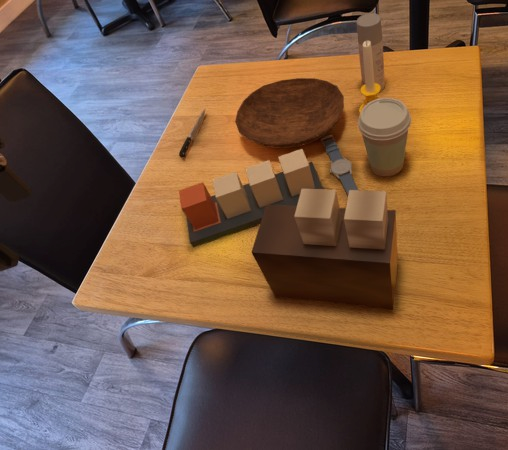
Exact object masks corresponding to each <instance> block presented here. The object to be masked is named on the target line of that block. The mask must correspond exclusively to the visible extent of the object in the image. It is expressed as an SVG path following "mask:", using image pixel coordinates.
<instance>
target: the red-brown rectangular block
mask: <svg viewBox="0 0 508 450" xmlns="http://www.w3.org/2000/svg"><path fill="white" fill-rule="evenodd" d="M178 193H179V202H180V209H181V211H182V212H183V214H184V215H185V217H186V216H187V218H188V219H189V221H190V222H191V224H192V225H193V227H194V228H195V229H198V228H201V227H204V226H207V225H210V224H212V223H215V222H218V221H219V220H218V215H217V210H216V206H215V203H214V201H213V199H212V197H211V196H212V195H211V193H210V192H209V190H208V188H207V187H206V184H205V183H204V181H203V182H199V183H196V184H194V185H191V186H188V187H185V188H182V189H180V190H178ZM187 218H186V219H187Z"/></svg>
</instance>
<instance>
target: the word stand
mask: <svg viewBox="0 0 508 450" xmlns="http://www.w3.org/2000/svg"><path fill="white" fill-rule="evenodd" d="M346 200H347V201H346V206H345V207H341V206H340V202H339V198H338V193H337V190H336V189H330V188H329V189H325V188H323V189H301V193H300V197H299V201H298V204H297V206H282V205H266V207H265V211H264V214H263V217H262V220H261V223H260V224H259V227H258V230H257V232H256V236H255V240H254V243H253V246H252V250H251V251H250V252H251V254H252V256H253V259H254V260H255V262H256V264H257V266H258V267H259V269H260V272H261V273H262V275H263V277H264V279H265V280H266V282H267V284H268V286H269V288H270V291H271V292H272V294H273V296H274V297H275V298H281V299H291V300H301V301H307V302H308V301H310V302H320V303H328V304H329V303H330V304H339V305H348V306H357V307H366V308H367V307H368V308H375V309H377V308H378V309H386V310H394V307H395V306H394V305H395V297H396V296H395V295H396V285H397V273H398V263H399V255H398V234H397V232H398V231H397V230H398V229H397V210H394V209H388V197H387V191H386V190H361V189H358V190H349V194H348V195H347V199H346Z"/></svg>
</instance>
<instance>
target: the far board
mask: <svg viewBox="0 0 508 450" xmlns="http://www.w3.org/2000/svg"><path fill="white" fill-rule="evenodd" d="M277 158H278V161H279V164H280V166H281V169H282V171H280V172H278V173H275V172H274V168H273V166H272V163H271V161H270V159H267V160H265V161H262V162H259V163H256V164H254V165H250V166H248V167H245V168H244V169H245V174H246V177H247V180H248V183H246V184H243V182H242V181H241V178H240V176H239V174H238V172H237V171H233V172H230V173H228V174H227V173H226V174H224V175H221V176H218V177H216V178H213V179H211V181H212V186H213V190H214V195H211V197H212V199H213V201H214V203H215V206H216V210H217V215H218V220H219V221H218V222H215V223H212V224H210V225H207V226H204V227H201V228H198V229H195V228H194V227H193V225H192V224H191V222H190V221H189V219H188V218H187V216H186V215H185V217H186V225H187V231H188V232H187V233H188V239H189V243H190V245H191V247H192V248H195V247H198V246H201V245H204V244H206V243H209V242H210V243H211V242H212V241H215V240H218V239H221V238H224V237H226V236H230V235H232V234H236V233H238V232H239V233H240V232H241V231H244V230H247V229H249V228H253V227H256V226H260V223H261V220H262V217H263V214H264V211H265V207H266V205H282V206H297V204H298V201H299V197H300V193H301V189H324V186H323V184H322V183H321V180H320V177H319V175H318V173H317V170H316V168H315V165H314V164H313V161H310V162H309V161H308V159H307V157H306V154H305V151H304V149H303V148H300V149H297V150H293V151H291V152H288V153H285V154H282V155H279V156H278V157H277Z"/></svg>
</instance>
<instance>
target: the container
mask: <svg viewBox="0 0 508 450" xmlns="http://www.w3.org/2000/svg"><path fill="white" fill-rule="evenodd" d="M356 30H357V31H356V32H357V33H356V35H357V46H358V54H359V55H358V56H359V66H360V67H359V68H360V77H361V85H362V86H363V85H365V72H364V60H363V43H364V42H365V41H366V40H367V41H370V42H371V48H372V59H373V71H374V83H377V84H379V85H380V87H381V90H380V91H379V93H381V92H382V91H383V90H384V89H385V87H386V82H385V60H384V44H383V43H384V42H383V30H382V17H381V15H379V14H377V13H373V12H372V13H371V12H369V13H365V14H362V15H360V16H359V17H358V18H357V19H356ZM362 86H361V87H362Z"/></svg>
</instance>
